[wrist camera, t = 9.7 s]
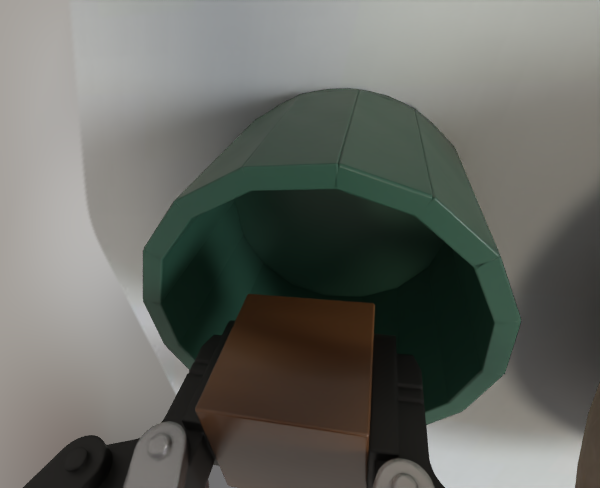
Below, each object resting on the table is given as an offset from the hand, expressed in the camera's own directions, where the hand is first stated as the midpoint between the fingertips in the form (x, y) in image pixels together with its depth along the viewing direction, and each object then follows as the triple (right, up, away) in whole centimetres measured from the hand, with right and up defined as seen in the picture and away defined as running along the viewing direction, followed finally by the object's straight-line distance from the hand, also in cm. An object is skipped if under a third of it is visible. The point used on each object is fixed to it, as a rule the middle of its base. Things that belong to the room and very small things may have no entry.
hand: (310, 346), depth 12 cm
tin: (+2, +5, +7) cm, 9 cm away
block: (0, 0, 0) cm, 0 cm away
